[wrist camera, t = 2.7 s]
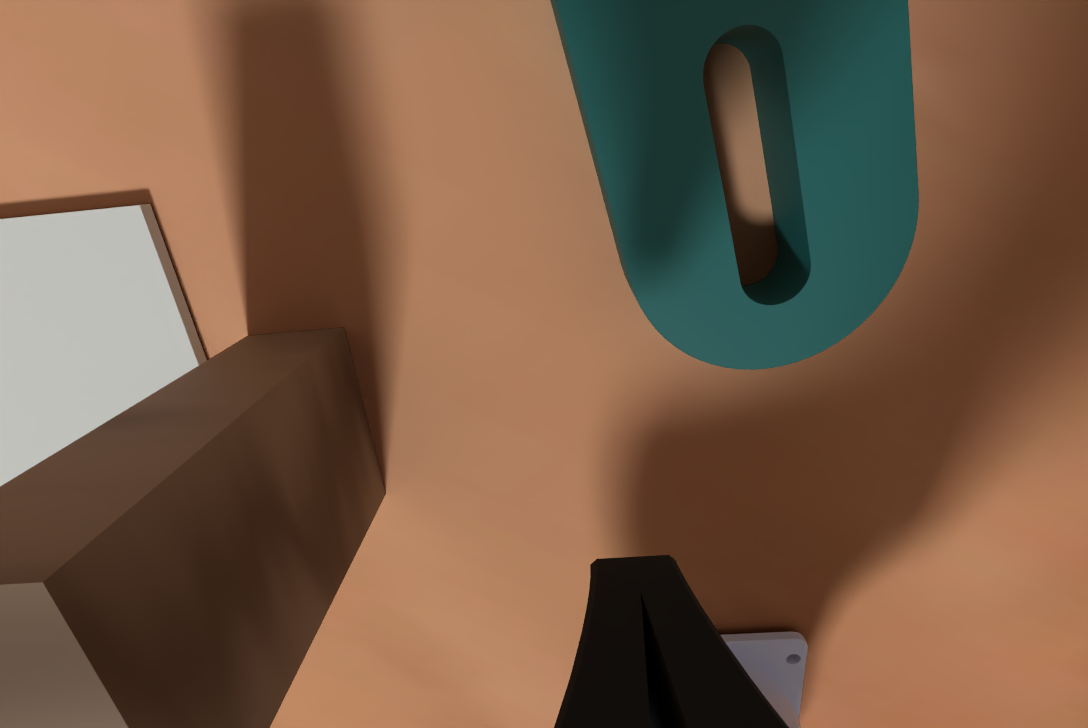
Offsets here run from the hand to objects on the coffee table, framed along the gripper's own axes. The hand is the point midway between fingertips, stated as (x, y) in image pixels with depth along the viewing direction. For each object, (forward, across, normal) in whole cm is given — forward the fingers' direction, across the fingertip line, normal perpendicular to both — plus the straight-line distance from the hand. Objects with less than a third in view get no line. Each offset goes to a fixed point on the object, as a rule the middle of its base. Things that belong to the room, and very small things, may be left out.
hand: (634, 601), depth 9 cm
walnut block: (+8, +9, 0) cm, 12 cm away
